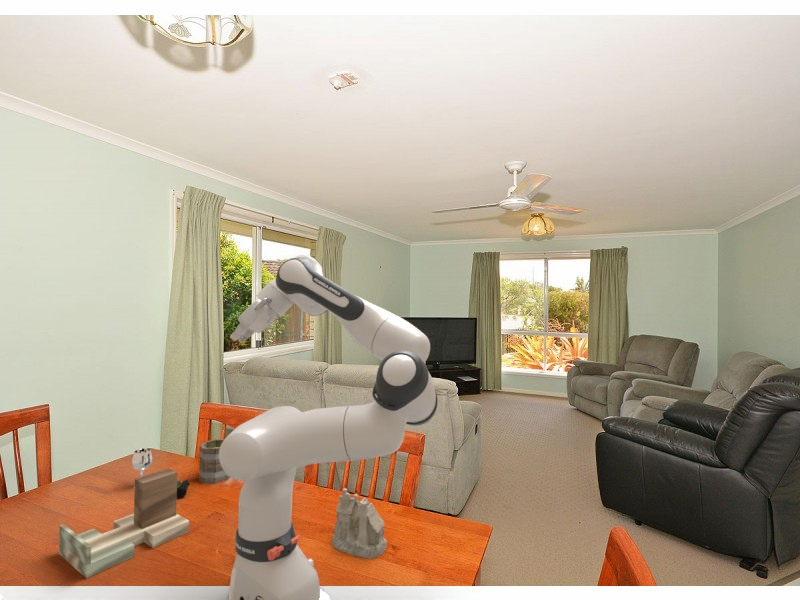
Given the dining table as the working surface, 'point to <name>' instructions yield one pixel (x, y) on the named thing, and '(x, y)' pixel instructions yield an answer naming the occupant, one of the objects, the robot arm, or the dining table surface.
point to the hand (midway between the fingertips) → (236, 340)
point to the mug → (211, 463)
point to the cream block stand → (115, 542)
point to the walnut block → (155, 498)
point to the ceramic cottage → (358, 528)
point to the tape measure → (182, 488)
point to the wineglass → (142, 460)
